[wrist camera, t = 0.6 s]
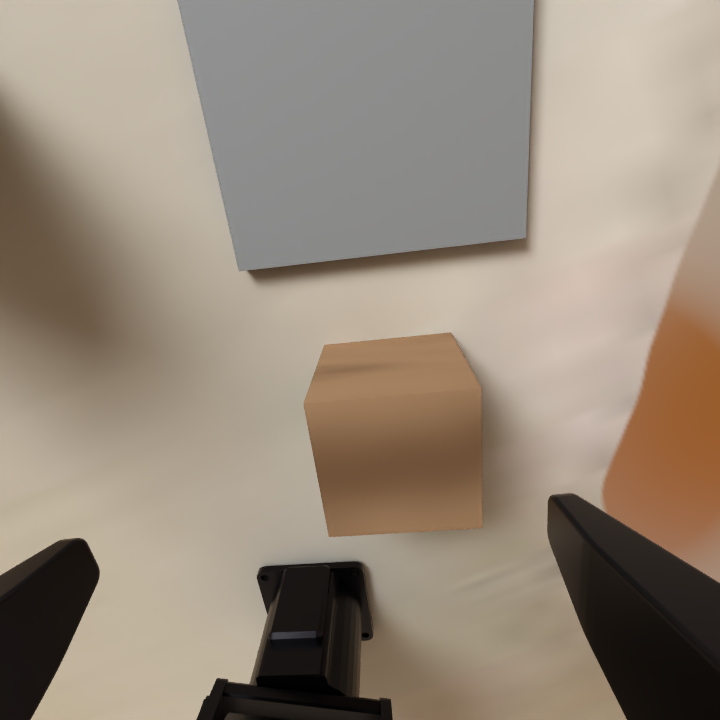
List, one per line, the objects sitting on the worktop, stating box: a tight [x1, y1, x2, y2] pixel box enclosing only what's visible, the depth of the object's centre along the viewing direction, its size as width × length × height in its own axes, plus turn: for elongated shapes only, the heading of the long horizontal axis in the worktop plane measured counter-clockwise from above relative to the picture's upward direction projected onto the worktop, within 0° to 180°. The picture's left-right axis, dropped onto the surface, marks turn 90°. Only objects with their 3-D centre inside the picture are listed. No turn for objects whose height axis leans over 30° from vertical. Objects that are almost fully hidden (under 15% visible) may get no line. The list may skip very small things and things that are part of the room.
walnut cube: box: [304, 333, 483, 537], centre depth 17 cm, size 6×6×6 cm
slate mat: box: [177, 0, 534, 271], centre depth 15 cm, size 12×12×1 cm
